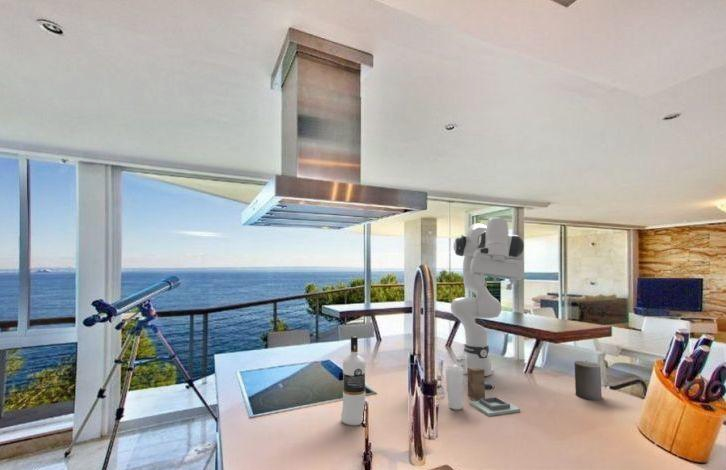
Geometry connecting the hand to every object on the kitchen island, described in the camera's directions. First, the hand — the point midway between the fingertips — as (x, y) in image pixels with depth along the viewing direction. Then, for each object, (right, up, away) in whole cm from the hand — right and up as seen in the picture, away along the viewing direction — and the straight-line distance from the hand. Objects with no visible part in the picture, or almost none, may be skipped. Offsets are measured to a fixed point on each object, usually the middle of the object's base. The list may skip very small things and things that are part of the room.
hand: (496, 287), depth 141 cm
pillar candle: (+45, -49, +15) cm, 68 cm away
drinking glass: (-15, -48, +2) cm, 50 cm away
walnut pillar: (-4, -49, +13) cm, 51 cm away
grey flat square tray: (0, -48, +2) cm, 48 cm away
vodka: (-55, -47, -10) cm, 73 cm away
